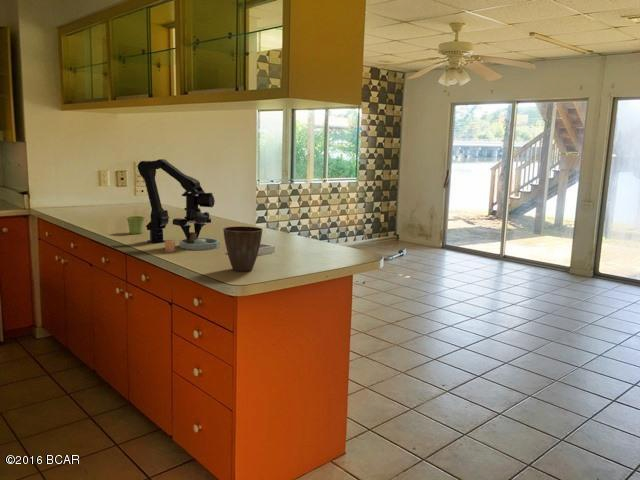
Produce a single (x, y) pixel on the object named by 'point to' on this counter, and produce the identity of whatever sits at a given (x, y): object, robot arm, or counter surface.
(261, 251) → the mug coaster frame
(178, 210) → the counter surface
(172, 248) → the brown egg
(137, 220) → the plant pot
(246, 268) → the plant pot
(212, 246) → the groove tray
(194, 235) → the brown rounded short cylinder
